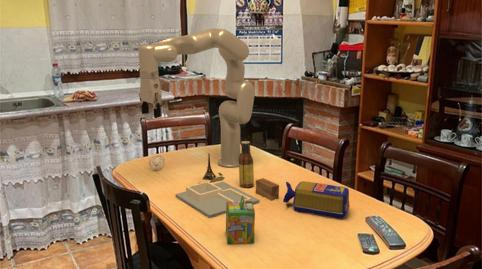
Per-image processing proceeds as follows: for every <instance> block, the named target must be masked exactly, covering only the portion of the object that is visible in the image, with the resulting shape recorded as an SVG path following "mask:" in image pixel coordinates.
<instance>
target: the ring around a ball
mask: <svg viewBox="0 0 482 269" xmlns="http://www.w3.org/2000/svg"><path fill="white" fill-rule="evenodd" d="M165 162H166V161H165V157H164V156H163V155H162V154H159V153H156V154H153V155H151V156H150V158H149V159H148V166H149V168H150V169H151V170H153V171H158V170H161V169H162V168H164V166H165ZM153 166H154V167H153Z"/></svg>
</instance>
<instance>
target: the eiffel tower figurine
mask: <svg viewBox="0 0 482 269" xmlns="http://www.w3.org/2000/svg"><path fill="white" fill-rule="evenodd" d="M210 155H211V154H210V153H208V158H207V159H208V161H207V166H206V168H207V169H206V171H205V173H204V176H203V177H202V178H201V180H203V181H209V182H210V183H216V182H223V181H224V180H225V177H224V175H223V173H222V172H217V174H218V175H219V176H217V175H216V174H215V173H214V171H213V170H212V169H213V168H212V166H211V157H210ZM199 183H200V182H198V183H197V184H199Z"/></svg>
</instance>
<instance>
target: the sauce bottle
mask: <svg viewBox="0 0 482 269" xmlns="http://www.w3.org/2000/svg"><path fill="white" fill-rule="evenodd" d="M240 153H241V154H240V156H239V166H238V173H239V174H238V175H239V176H238V177H239V178H238V179H239V186H240V187H241V188H244V189H245V188H249V189H250V188H252V187H254V183H255V181H254V180H255V179H254V178H255V176H254V175H255V174H254V159H253V157H252V154H251V153H252V152H251V141H249V140H243V141H240Z"/></svg>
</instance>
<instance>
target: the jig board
mask: <svg viewBox="0 0 482 269" xmlns="http://www.w3.org/2000/svg"><path fill="white" fill-rule="evenodd" d="M198 183H199V184H198ZM198 183H196V184H192V185H188V186H186V187H185V191H182V192H179V193H175V198H176V199H178V200H179V201H182V202H183V203H184V204H186V205H188V206H190V208H193V210H196V211H198V212H199V213H200V214H202V215H204V216H205V217H207V218H208V219H211V218H215V217H218V216H221V215H224V214H225V215H226V202H239V201H241V198H242V195H243V197H244V201H252V203H253V205H255V204H259V203H260V199H259V198H257V197H256V196H255V197H254V196H253V195H252V194H249V193H247V192H245V191H243V190H241V189H239V188H237V187H235V186H233V185H231V184H229V183H227V182H225V181H219V182H217V183H216V182H215V183H213V182H211V183H210V181H209V180H206V181H203V182H198Z"/></svg>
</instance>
